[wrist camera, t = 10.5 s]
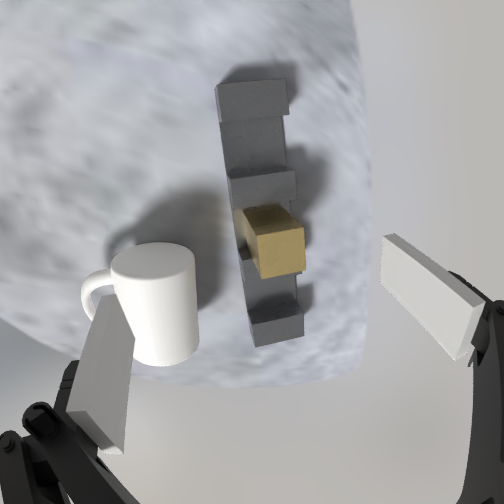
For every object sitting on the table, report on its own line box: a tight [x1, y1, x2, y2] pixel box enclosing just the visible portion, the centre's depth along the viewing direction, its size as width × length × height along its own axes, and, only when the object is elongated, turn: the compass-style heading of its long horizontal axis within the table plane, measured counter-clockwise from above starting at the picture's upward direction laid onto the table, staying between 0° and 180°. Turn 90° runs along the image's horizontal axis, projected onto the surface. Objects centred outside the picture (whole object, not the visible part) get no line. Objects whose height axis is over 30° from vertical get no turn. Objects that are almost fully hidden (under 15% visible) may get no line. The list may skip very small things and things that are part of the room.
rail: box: [215, 79, 304, 347], centre depth 31 cm, size 28×6×3 cm, turn 7°
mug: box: [81, 242, 200, 366], centre depth 29 cm, size 12×10×8 cm
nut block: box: [243, 205, 306, 279], centre depth 29 cm, size 4×4×7 cm
